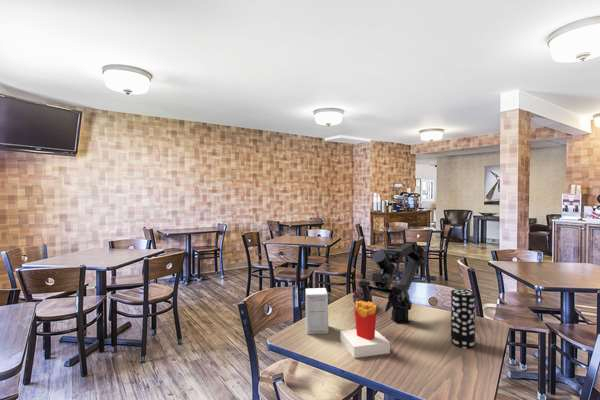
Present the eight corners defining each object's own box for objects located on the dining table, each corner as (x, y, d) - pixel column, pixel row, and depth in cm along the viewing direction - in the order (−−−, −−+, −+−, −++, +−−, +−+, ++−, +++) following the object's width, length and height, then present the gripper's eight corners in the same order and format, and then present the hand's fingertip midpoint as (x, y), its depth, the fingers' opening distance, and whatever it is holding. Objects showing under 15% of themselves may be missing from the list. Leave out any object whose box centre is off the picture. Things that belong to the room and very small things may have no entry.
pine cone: (371, 315, 158) (371, 294, 158) (350, 314, 160) (350, 293, 160) (373, 303, 175) (372, 284, 175) (354, 302, 178) (354, 283, 177)
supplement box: (326, 325, 147) (326, 287, 147) (329, 333, 138) (328, 293, 137) (305, 325, 147) (305, 287, 146) (306, 334, 138) (305, 294, 137)
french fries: (352, 334, 128) (352, 301, 127) (359, 331, 131) (358, 298, 130) (373, 341, 121) (372, 306, 121) (379, 338, 124) (379, 303, 124)
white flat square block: (372, 337, 134) (372, 327, 134) (389, 353, 121) (389, 342, 120) (340, 340, 131) (340, 331, 131) (354, 357, 117) (354, 346, 117)
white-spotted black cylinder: (472, 340, 130) (472, 290, 130) (476, 350, 122) (476, 296, 122) (449, 337, 133) (449, 288, 133) (452, 347, 125) (452, 294, 125)
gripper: (360, 261, 142) (347, 294, 134) (403, 268, 131) (392, 304, 123) (367, 275, 149) (356, 306, 141) (409, 283, 137) (399, 317, 129)
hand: (374, 308), depth 133 cm, fingers open, 9 cm apart
